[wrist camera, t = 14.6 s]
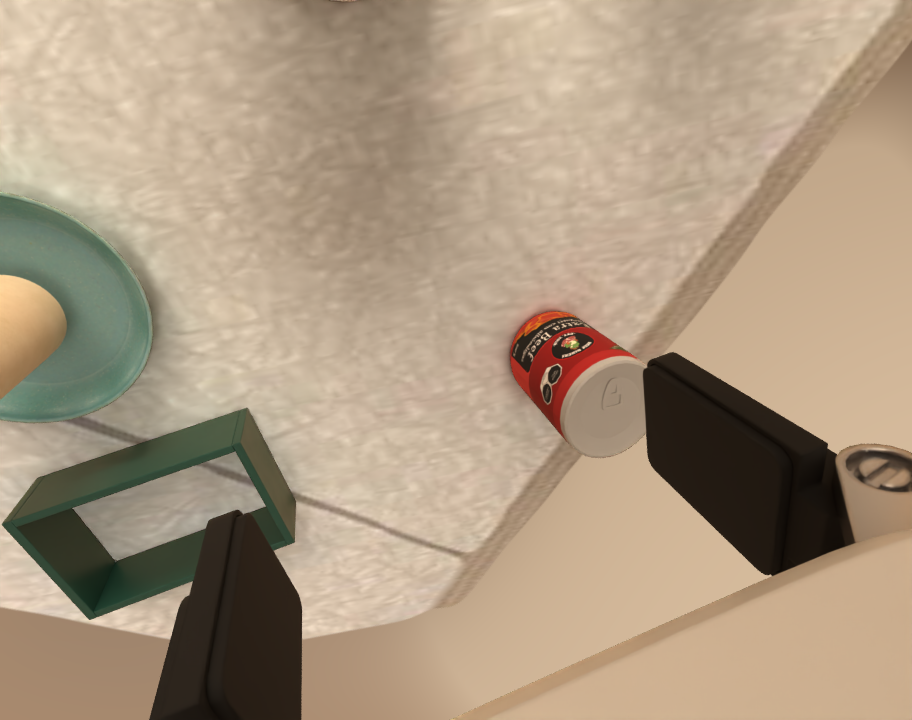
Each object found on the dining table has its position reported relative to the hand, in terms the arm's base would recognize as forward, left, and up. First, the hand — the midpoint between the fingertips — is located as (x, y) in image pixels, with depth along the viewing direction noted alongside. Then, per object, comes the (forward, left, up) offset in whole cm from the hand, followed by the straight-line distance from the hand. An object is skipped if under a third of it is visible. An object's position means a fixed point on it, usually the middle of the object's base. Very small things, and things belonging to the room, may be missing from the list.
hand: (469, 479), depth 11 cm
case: (+15, -20, -28) cm, 38 cm away
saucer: (-2, -21, -28) cm, 35 cm away
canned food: (+14, +13, -28) cm, 34 cm away
